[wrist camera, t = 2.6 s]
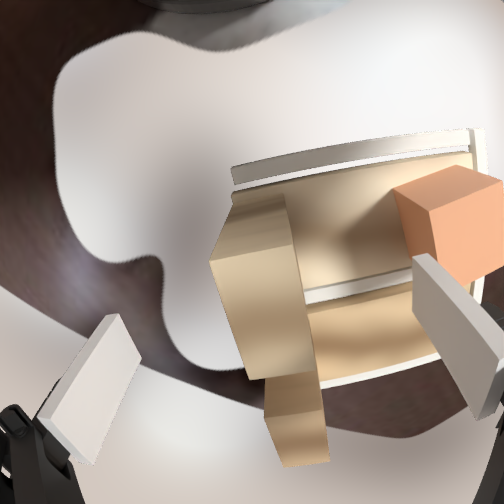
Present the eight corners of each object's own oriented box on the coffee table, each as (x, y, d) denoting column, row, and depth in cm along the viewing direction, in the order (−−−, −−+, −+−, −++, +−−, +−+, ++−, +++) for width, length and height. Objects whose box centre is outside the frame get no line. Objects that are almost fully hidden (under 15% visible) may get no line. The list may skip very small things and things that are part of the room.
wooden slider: (233, 191, 19) (204, 248, 11) (462, 150, 17) (556, 179, 9) (259, 288, 22) (252, 387, 14) (465, 243, 20) (539, 307, 11)
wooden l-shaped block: (265, 312, 23) (261, 412, 14) (464, 267, 21) (530, 335, 12) (283, 377, 25) (284, 470, 17) (456, 335, 23) (501, 408, 15)
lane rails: (232, 166, 19) (230, 168, 18) (476, 128, 17) (484, 129, 16) (289, 386, 26) (289, 394, 25) (467, 340, 24) (472, 347, 23)
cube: (392, 188, 18) (428, 211, 13) (455, 164, 17) (502, 180, 12) (409, 258, 19) (442, 296, 15) (467, 232, 18) (508, 262, 14)
